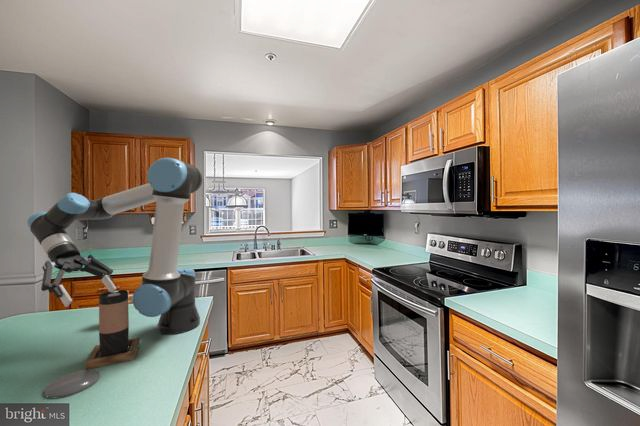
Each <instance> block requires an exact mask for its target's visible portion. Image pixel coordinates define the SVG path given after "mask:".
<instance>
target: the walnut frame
mask: <svg viewBox="0 0 640 426" xmlns="http://www.w3.org/2000/svg"><path fill="white" fill-rule="evenodd" d="M139 338H140V337H139V336H138V337H133V338H128V348H129V347H130V349H129V351H128V352H126V353H121V354H116V355H111V356H107V357H102V358H100V357H99V356H100V344H95V345H94V346H93V349H92V351H91V352H90V354H89V356H88V358H87V360H86V361H85V370H87V369H95V368H100V367H106V366H109V365H114V364H119V363H123V362H128V361H132V360H136V356H137V351H138V348H139V344H140V343H139V341H140V339H139Z"/></svg>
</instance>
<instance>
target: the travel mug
mask: <svg viewBox="0 0 640 426" xmlns="http://www.w3.org/2000/svg"><path fill="white" fill-rule="evenodd" d="M117 291H118V292H109V291H107V292H106V291H105V292H103V293H101V294H99V295H98V296H99V297H98V304H99V305H98V332H99V333H98V336H99V337H98V338H99V345H100V354H99V356H100V357H99V358H102V357H107V356H111V355H116V354H121V353H126V352H129V347H128V339H129V336H130V335H129V331H130V330H129V328H130V322H129V319H130V318H129V313H130V312H129V304H128V295H129V290H126V289H120V290H117Z"/></svg>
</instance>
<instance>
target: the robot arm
mask: <svg viewBox="0 0 640 426" xmlns="http://www.w3.org/2000/svg"><path fill="white" fill-rule="evenodd" d="M146 175H147V176H146V177H147V181H148V183H145V184H142V185H139V186H135V187H132V188H129V189H126V190H122V191H120V192H117V193H113V194H109V195H107V196H105V197H101V198H98V199H94V200H93V199H88V198H86V197H85V196H84V195H82V194H81V193H80V194H78V193H77V192H69V193H66V194H65V195H63V197H62V198H60V199H58V201H57V202H56V203H55V204H54V205H53V206H52V207H51V208H50V209H49V210H48V211H39V212H36V213H35V214H33V215H31V216H29V217H28V219H27V222H26V223H27V226H28V228H29V230H30V232H31V233H32V235H33V236H34V237H35V238H36V240H37V242H38V243H39V244H40V246H41V248H42V249H43V250H44V252H45V253H46V255H47V257H48V259H49V260H50V261H49V260H46V261H45V263H44V264H43V266H42V270H43V277H42V282H41V288H40V290H41V291H42V292H45V291H48V293H52V294H53V295H54V297H55V298H57V299H60V301H61V303H62V304H63V305H64V307H65V308H67V307H69V306H70V304H72V302H73V299H72V297H71V296H70V294H69V292H68V291H67V290H66V288H65V287H64V284H60V282H61V281H62V280H63V279H62V278H63V277H64V276H65V273H68V274H69V273H72V272H73V273H74V272H79V271H80V272H83V273H84V272H86V273H88V274H91V275H94V276H96V277H97V278H101V282H102V284H103V285H104V287H105V288H106V289H107V292H114V291H117V290H118V289H117V287H116V285H115V284H114V279H113V278H112V276H111V275H112V274H113V272H114V269H112V268H110V267H108V266H107V265H106V264H104V263H102V262H101V261H99V260H97V259H96V258H95V257H94V256H93V255H92V254H88V256H86V257H83V256H81V252H80V250H79V249H78V248H77V246H76V244H75V243H74V241H73V240H72V239H71V237H70V236H69V234H68V233H67V231H66V230H67V228H69V227H70V226H71V225H72V224H73V223H74V222H76V221H87V220H88V221H89V220H91V221H93V220H107V219H111V218H112V217H113V216H115V215H118V214H120V213H122V212H127V211H130V210H132V209H136V208H139V207H142V206H143V207H144V206H145V205H146V206H147V205H148V204H149V205H150V204H152V203H154V202H156V203H155V204H156V205H155V211H154V222H153V229H152V237H151V238H152V239H151V244H150V245H151V246H150V255H149V261H148V263H149V264H148V269H147V270H146V271H145V272H144V273H142V276H141V277H142V278H141V285H140V286H138V287H137V288H136V289H135V291H134V292H133V298H132V300H133V302H132V305H133V307H134V309H135V310H136V311H137V312H138V313H139V314H140V315H142V316H144V317H148V318H155V317H159V319H158V321H157V331H158V332H159V333H161V334H165V335H173V334H181V333H185V332H188V331H191V330H194V329H195V328H197V327H198V326H199V325H200V324H201V316H200V313H199V310H198V308H197V306H196V272H195V270H194V269H193V268H189V267H188V268H186V267H185V268H183V267H181V268H180V267H179V268H177V267H178V266H177V265H178V257H179V251H180V242H181V233H182V225H183V217H184V209H185V204H186V203H187V202H189V201H190V199H191V194H194V193H196V192H197V191H199V189H200V188H201V186H202V184H203V177H202V176H203V175H202V173H201V171H200V169H199V168H197V167H196V166H195V165H193V164H191V163H187V162H185V161H182V160H180V159H177V158H172V157H162V158H159V159H157V160H156V161H154V162H153V163H151V165H150V166H149V167H148V170H147V174H146ZM83 266H84V267H83ZM53 268H55V269H58V270H59V271H58V272H57V275H56V277H55V278H54V280H53V281H52V275H53V274H52V273H53ZM51 282H52V283H51Z"/></svg>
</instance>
